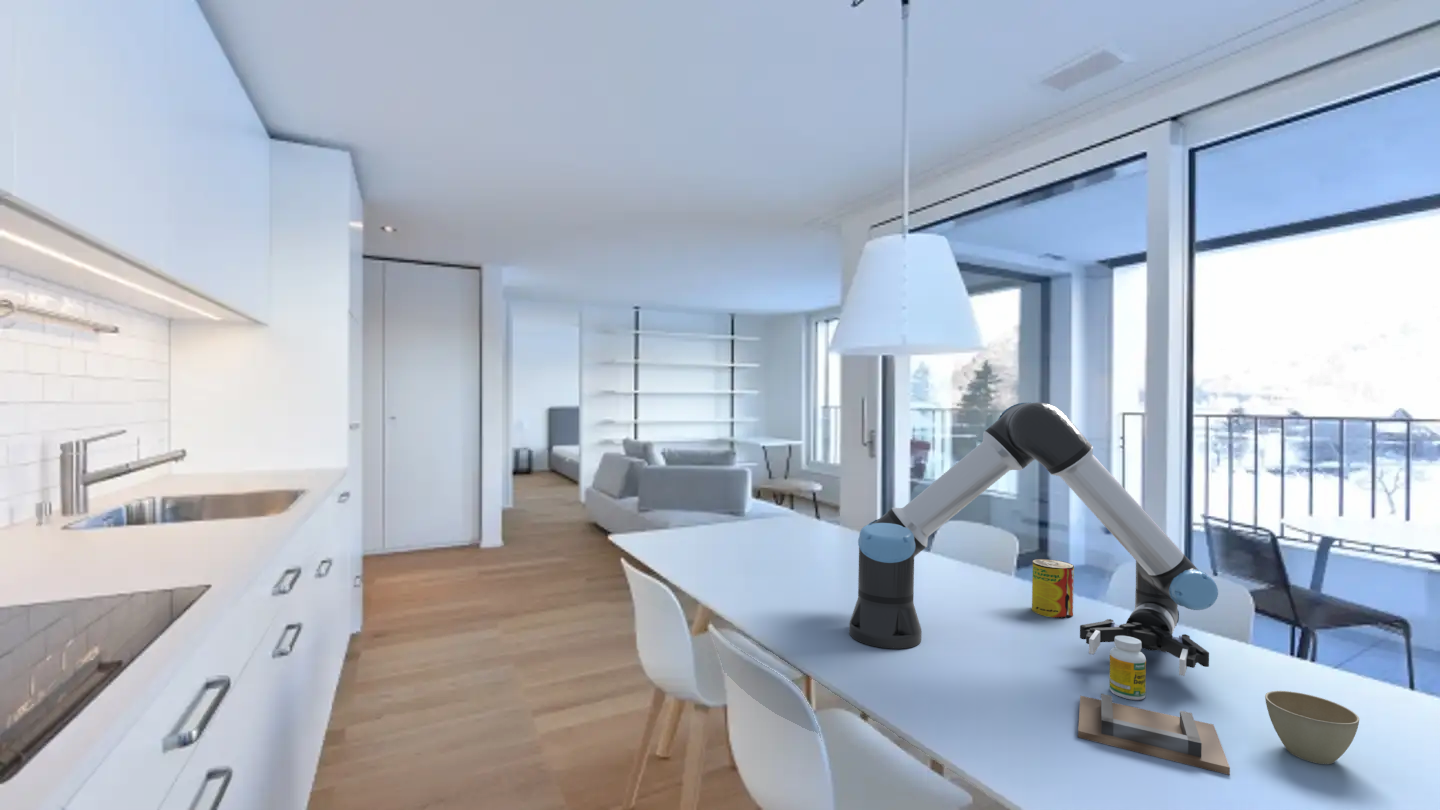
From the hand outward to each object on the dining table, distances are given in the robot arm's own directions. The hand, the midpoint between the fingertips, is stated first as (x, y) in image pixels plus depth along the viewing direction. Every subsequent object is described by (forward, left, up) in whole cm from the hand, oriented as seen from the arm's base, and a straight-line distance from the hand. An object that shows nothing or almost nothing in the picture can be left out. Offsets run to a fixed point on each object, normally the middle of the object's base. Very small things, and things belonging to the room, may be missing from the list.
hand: (1134, 656), depth 112 cm
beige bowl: (+21, -12, -6) cm, 25 cm away
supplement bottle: (-1, -3, -6) cm, 7 cm away
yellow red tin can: (-15, +41, -6) cm, 44 cm away
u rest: (+1, -18, -6) cm, 19 cm away
